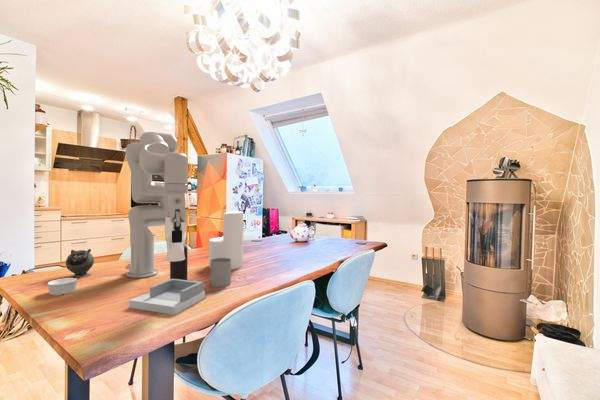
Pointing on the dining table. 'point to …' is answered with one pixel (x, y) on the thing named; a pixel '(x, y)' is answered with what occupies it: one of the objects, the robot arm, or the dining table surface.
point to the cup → (220, 272)
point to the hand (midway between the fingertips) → (175, 240)
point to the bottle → (179, 267)
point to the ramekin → (62, 286)
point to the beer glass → (174, 249)
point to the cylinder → (229, 240)
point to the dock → (170, 296)
